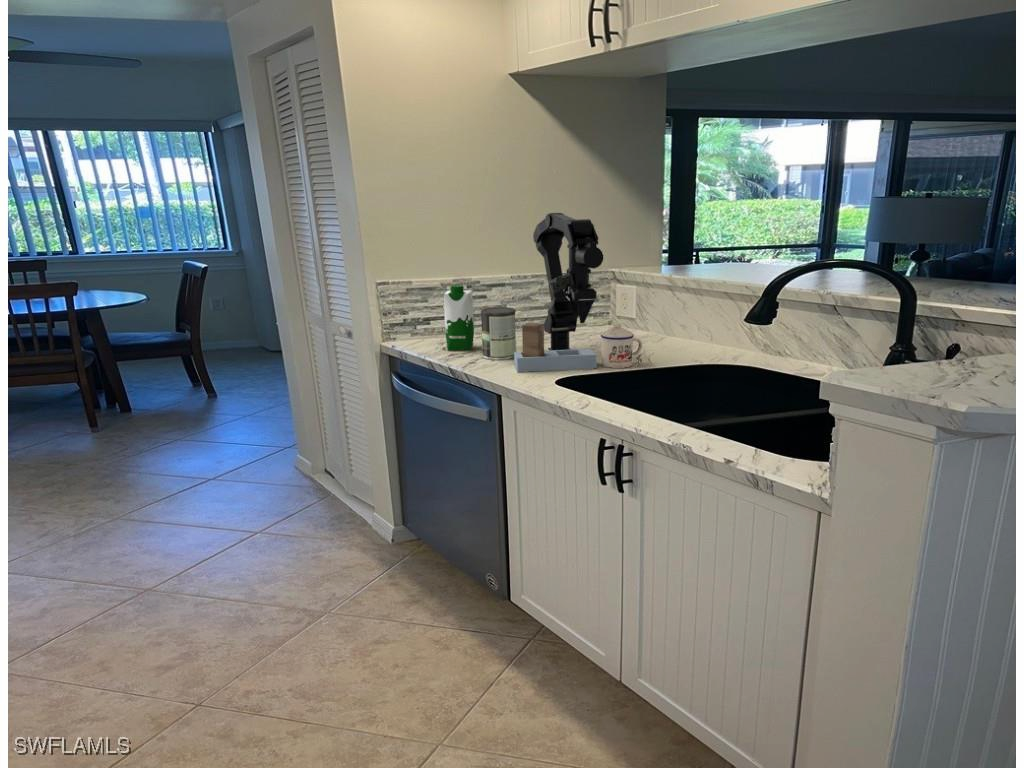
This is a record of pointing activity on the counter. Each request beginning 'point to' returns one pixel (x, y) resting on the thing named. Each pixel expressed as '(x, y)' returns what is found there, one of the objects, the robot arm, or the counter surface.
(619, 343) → the teacup with lid
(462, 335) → the milk carton
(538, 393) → the counter surface
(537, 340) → the peg
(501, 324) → the coffee can
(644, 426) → the counter surface
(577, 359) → the blue peg holder
